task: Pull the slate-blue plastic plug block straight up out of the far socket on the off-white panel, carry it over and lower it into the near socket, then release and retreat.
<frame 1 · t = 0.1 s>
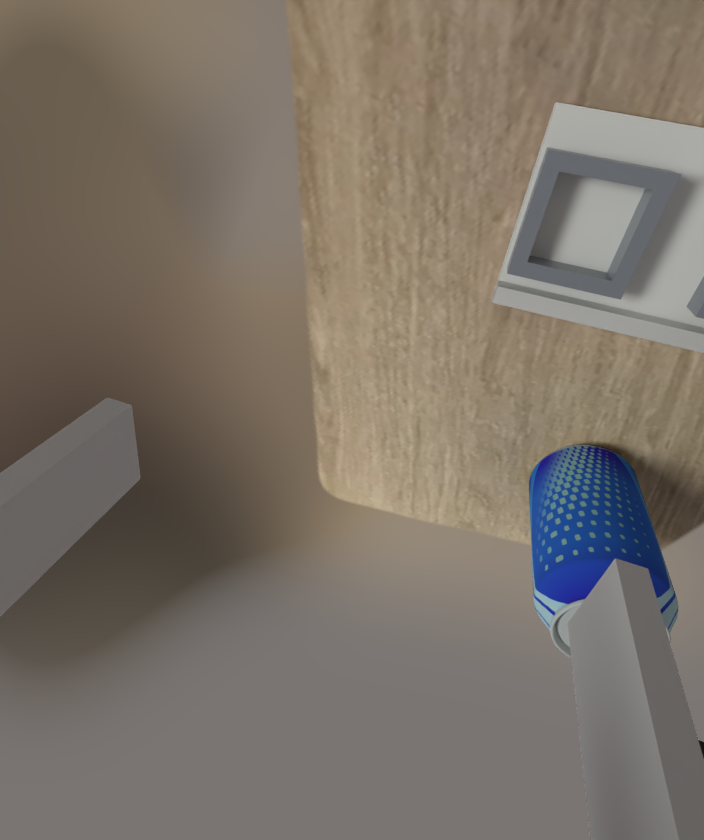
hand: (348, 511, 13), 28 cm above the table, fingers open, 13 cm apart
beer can: (579, 475, 43), on the table
panel: (675, 239, 31), on the table
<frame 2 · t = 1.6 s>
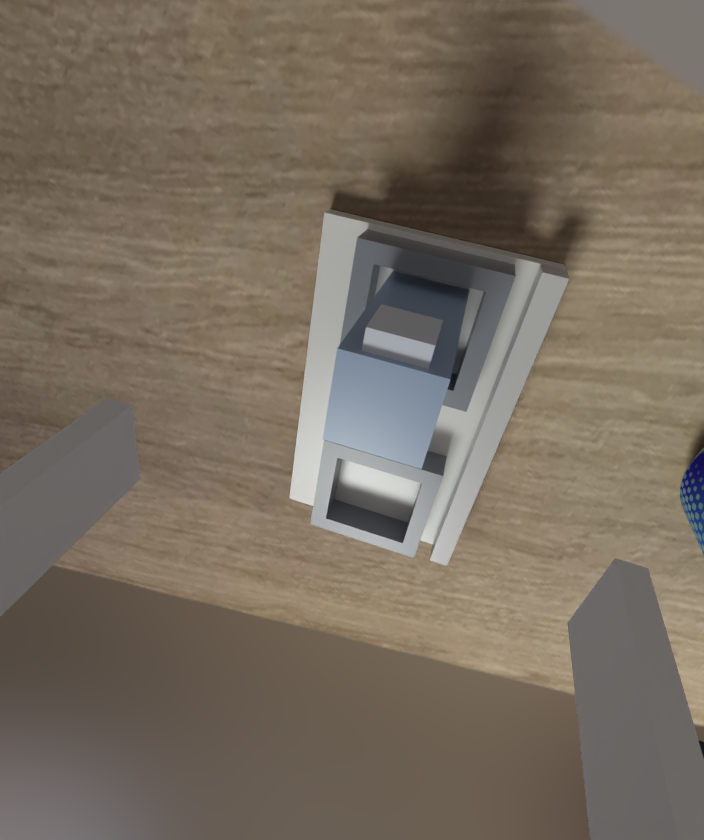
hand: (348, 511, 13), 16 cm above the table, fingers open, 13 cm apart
plug: (421, 316, 26), point 1 cm above the table, touching panel
panel: (400, 401, 30), on the table
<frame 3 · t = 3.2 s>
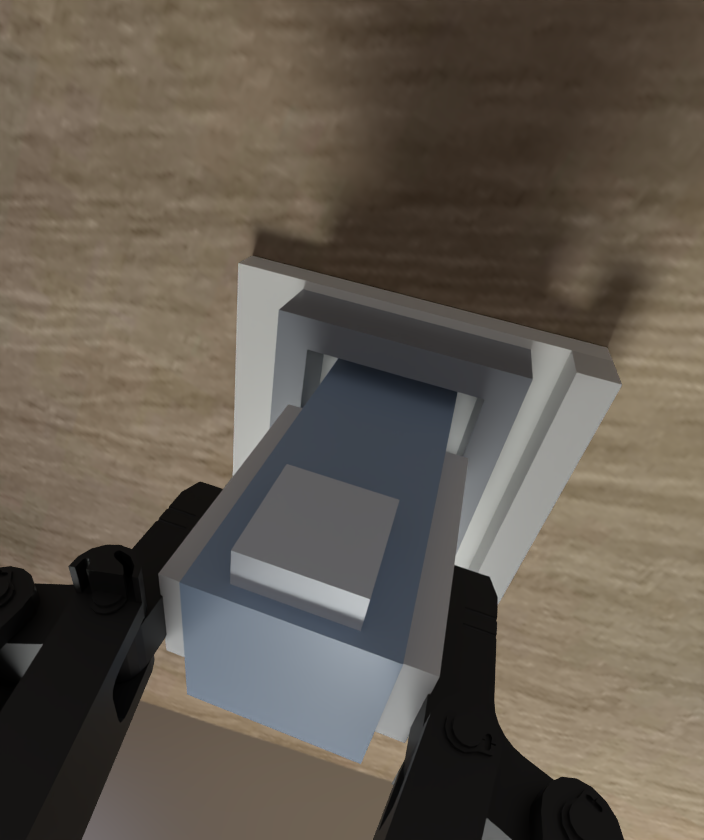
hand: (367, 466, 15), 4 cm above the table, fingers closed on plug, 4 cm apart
plug: (388, 414, 17), point 1 cm above the table, touching gripper, panel
panel: (366, 512, 22), on the table
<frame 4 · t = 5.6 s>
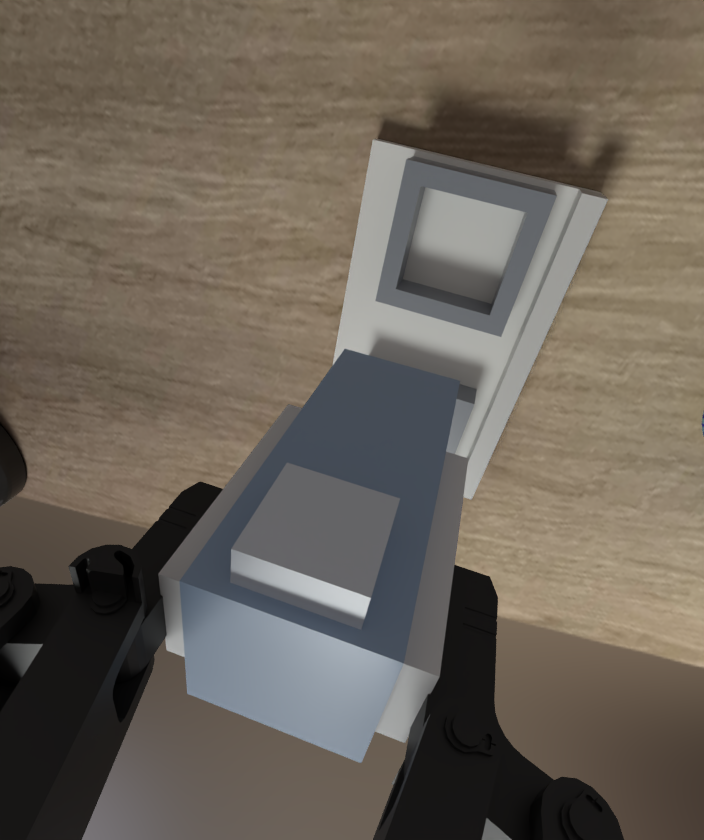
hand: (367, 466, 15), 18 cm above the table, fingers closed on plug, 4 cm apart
plug: (389, 413, 17), point 15 cm above the table, touching gripper
panel: (433, 335, 31), on the table
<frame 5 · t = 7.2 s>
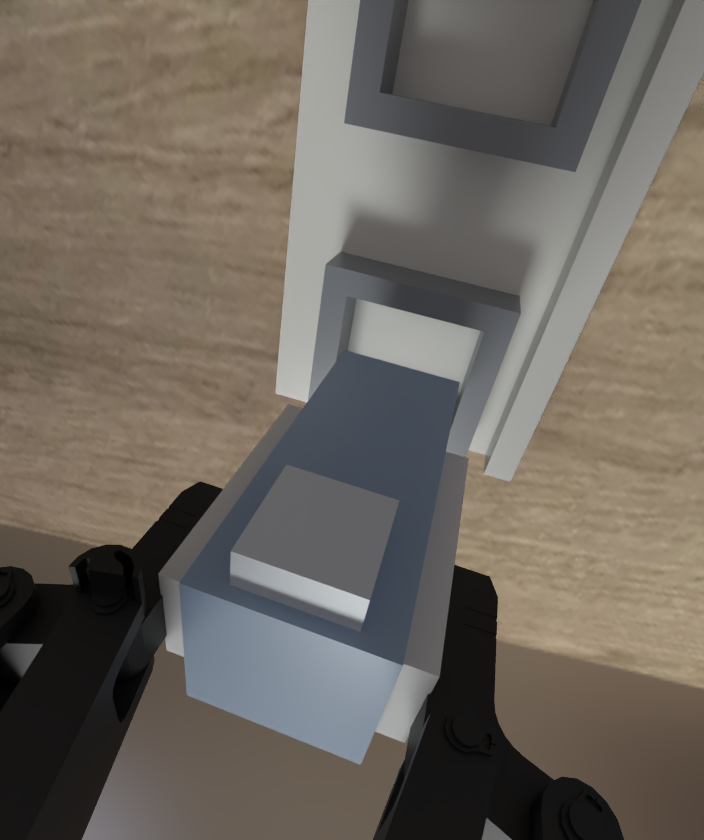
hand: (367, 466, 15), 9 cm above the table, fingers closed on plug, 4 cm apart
plug: (388, 414, 17), point 6 cm above the table, touching gripper
panel: (446, 208, 19), on the table
when the fingers open (5 cm above the table, at t = 8.3 s): plug stays where it is, resting on panel.
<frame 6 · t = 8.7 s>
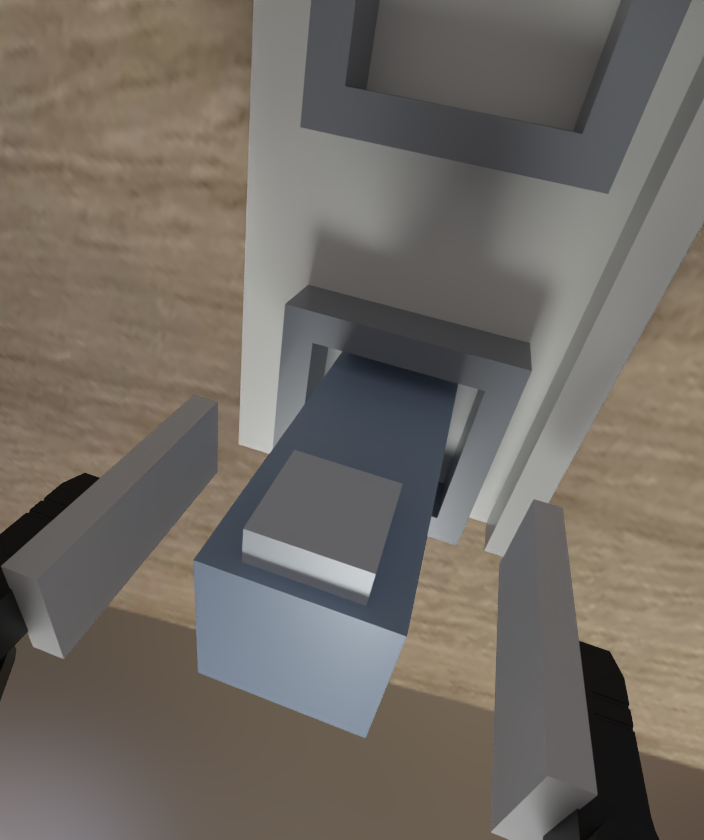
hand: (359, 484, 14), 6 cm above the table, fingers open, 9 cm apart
plug: (391, 406, 18), point 1 cm above the table, touching panel
panel: (438, 233, 15), on the table
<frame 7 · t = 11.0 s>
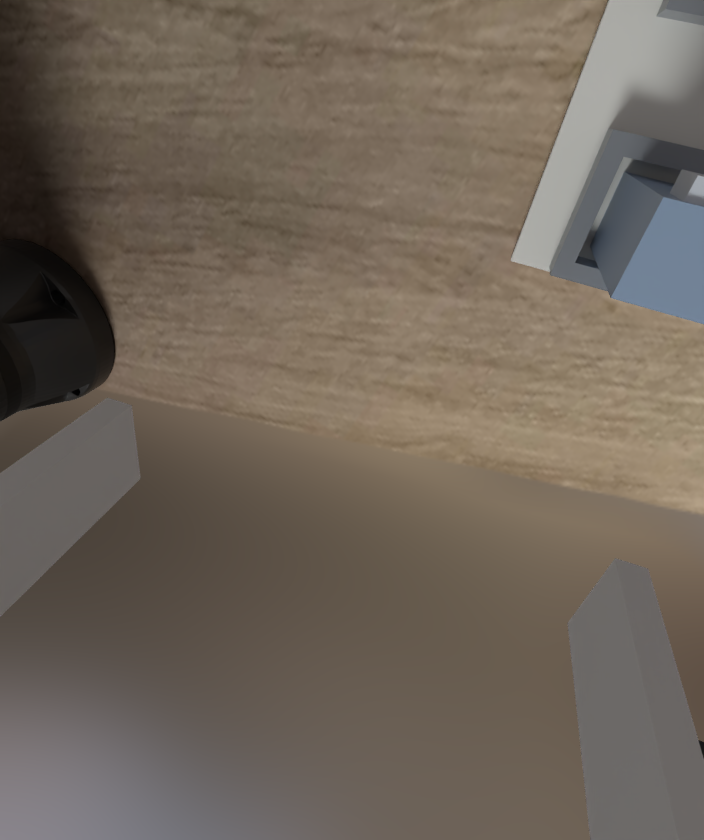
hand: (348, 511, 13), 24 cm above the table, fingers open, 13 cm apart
plug: (642, 219, 27), point 1 cm above the table, touching panel
panel: (702, 92, 24), on the table
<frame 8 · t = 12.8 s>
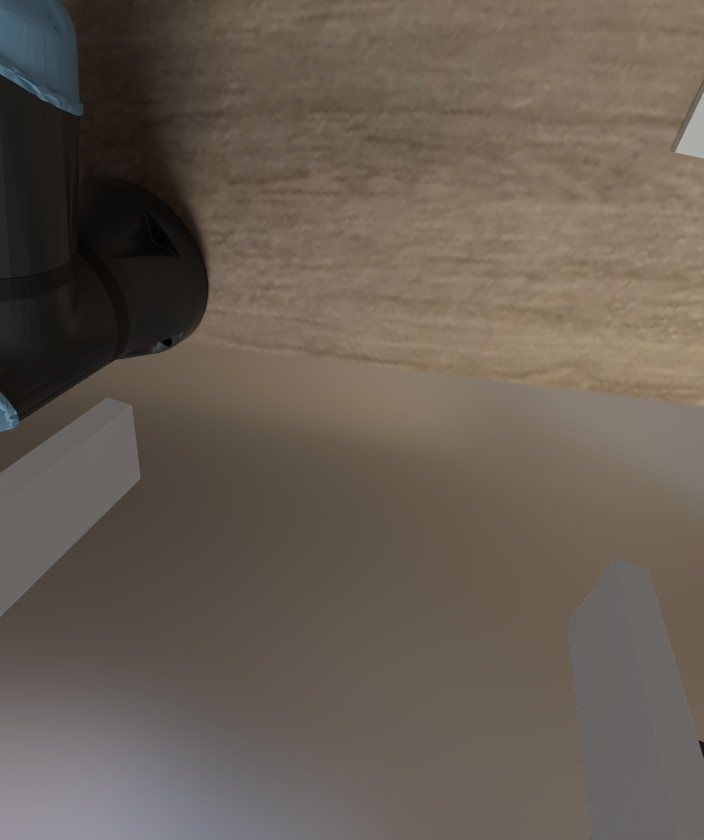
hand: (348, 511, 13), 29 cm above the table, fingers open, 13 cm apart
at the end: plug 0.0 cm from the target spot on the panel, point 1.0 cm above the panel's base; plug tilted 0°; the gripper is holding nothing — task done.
